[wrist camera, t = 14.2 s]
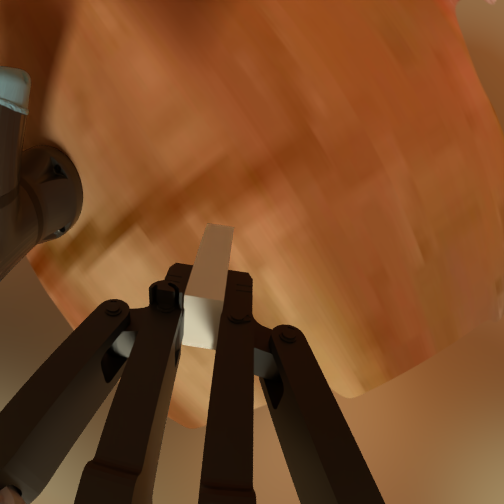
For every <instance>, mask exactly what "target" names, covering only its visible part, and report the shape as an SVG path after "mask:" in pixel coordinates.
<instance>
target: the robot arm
mask: <svg viewBox="0 0 504 504" xmlns="http://www.w3.org/2000/svg"><path fill="white" fill-rule="evenodd" d="M30 89H31V78H30V76H29V74H28V73H27V72H26V71H24V70H22V69H17V68H12V67H5V66H0V281H1V280H2V279H3V278H4V277H5V276H6V275H7V273H9V272H10V270H11V269H12V268H13V267H14V266H15V265H16V264H17V263H18V262H19V261H20V260H21V259H22V258H23V257H24V256H25V255H26V254H27V253H28V252H29V251H30V250H31V249H32V248H33V247H34V246H35V245H37V244H40V243H43V242H47V241H50V240H53V239H56V238H59V237H61V236H62V235H64V234H65V233H66V232H67V231H68V230H69V229H71V228H72V227H73V226H74V224H75V223H76V222H77V220H78V218H79V216H80V213H81V209H82V203H83V192H82V186H81V181H80V178H79V175H78V173H77V171H76V169H75V167H74V165H73V164H72V162H71V161H70V160H69V159H68V157H67V156H66V155H64V154H63V153H62V152H61V151H59V150H58V149H56V148H54V147H51V146H46V145H40V146H35V147H33V148H30V149H28V150H25V151H24V152H22V147H23V139H24V131H25V125H26V118H27V115H28V114H29V110H28V103H29V95H30ZM233 230H234V227H230V226H223V225H216V224H210V223H207V225H206V228H205V231H204V234H203V237H202V240H201V243H200V246H199V249H198V252H197V256H196V259H195V262H194V265H187V264H181V263H175V264H174V265H172V266H171V267H170V268H169V270H168V272H167V275H166V277H165V280H162V281H157V282H155V283H153V284H152V285H151V286H150V287H149V302H150V304H149V306H148V307H145V308H138V309H129V306H128V304H127V303H125V302H124V301H122V300H118V299H110V300H107V301H104V302H103V303H101V304H100V305H99V306H98V307H97V308H96V309H95V310H94V311H93V312H92V313H91V314H90V315H89V316H88V317H87V318H86V319H85V320H84V321H83V322H82V323H81V324H80V325H79V326H78V327H77V328H76V329H75V330H74V331H73V332H72V333H71V335H69V337H68V338H67V339H66V340H65V341H64V342H63V343H62V344H61V345H60V346H59V347H58V348H57V349H56V350H55V351H54V352H53V353H52V354H51V356H50V357H49V358H48V359H47V360H46V361H45V362H44V363H43V364H42V365H41V366H40V367H39V369H38V370H37V371H36V372H35V373H34V374H33V375H32V376H31V377H30V379H29V380H28V381H27V382H26V383H25V384H24V385H23V386H22V388H21V389H20V390H19V391H18V392H17V393H16V395H15V396H14V397H13V398H12V399H11V400H10V402H9V403H8V404H7V405H6V406H5V407H4V409H3V410H2V411H1V412H0V504H30V503H31V502H32V501H33V500H34V499H35V498H36V497H37V496H38V495H39V494H40V493H41V492H42V491H43V489H44V488H45V487H46V485H47V484H48V482H49V481H50V479H51V477H52V476H53V475H54V473H55V471H56V470H57V469H58V467H59V465H60V464H61V463H62V461H63V460H64V458H65V457H66V455H67V454H68V452H69V451H70V449H71V448H72V446H73V444H74V443H75V442H76V440H77V439H78V437H79V436H80V435H81V433H82V432H83V430H84V429H85V427H86V426H87V424H88V423H89V422H90V420H91V419H92V417H93V416H94V414H95V413H96V411H97V410H98V409H99V407H100V406H101V404H102V403H103V402H104V400H105V399H106V397H107V396H108V394H109V393H110V392H111V390H112V389H113V387H114V386H115V385H116V383H117V382H118V380H119V379H120V378H121V379H120V382H119V384H118V387H117V390H116V393H115V396H114V399H113V402H112V405H111V407H110V410H109V413H108V416H107V419H106V423H105V426H104V429H103V432H102V435H101V438H100V441H99V444H98V448H97V451H96V454H95V457H94V458H93V460H91V461H89V462H88V463H87V464H86V466H85V467H84V470H83V472H82V476H81V479H80V483H79V487H78V490H77V494H76V498H75V501H74V504H152V495H153V488H154V482H155V476H156V471H157V465H158V460H159V455H160V449H161V444H162V439H163V434H164V429H165V424H166V418H167V414H168V409H169V405H170V400H171V395H172V391H173V386H174V381H175V377H176V372H177V368H178V364H179V359H180V355H181V343H182V345H188V346H194V347H200V348H207V349H214V350H216V354H215V361H214V369H213V377H212V385H211V393H210V401H209V409H208V418H207V426H206V435H205V443H204V452H203V461H202V471H201V480H200V490H199V499H198V504H256V494H255V491H254V489H253V405H254V375H257V376H259V380H260V383H261V386H262V390H263V393H264V396H265V399H266V402H267V405H268V408H269V411H270V415H271V418H272V421H273V424H274V427H275V430H276V433H277V436H278V439H279V442H280V445H281V448H282V451H283V454H284V457H285V460H286V463H287V465H288V469H289V472H290V474H291V477H292V480H293V483H294V486H295V489H296V492H297V495H298V497H299V500H300V503H301V504H385V502H384V500H383V498H382V496H381V494H380V492H379V489H378V487H377V485H376V483H375V481H374V479H373V477H372V475H371V472H370V470H369V468H368V466H367V464H366V462H365V460H364V458H363V456H362V454H361V451H360V449H359V447H358V445H357V443H356V441H355V439H354V437H353V435H352V433H351V431H350V428H349V427H348V424H347V422H346V420H345V418H344V416H343V414H342V412H341V410H340V408H339V406H338V404H337V402H336V399H335V397H334V396H333V393H332V391H331V389H330V387H329V385H328V383H327V381H326V379H325V377H324V375H323V373H322V371H321V369H320V366H319V364H318V362H317V360H316V358H315V356H314V354H313V352H312V350H311V348H310V346H309V344H308V342H307V340H306V338H305V336H304V334H303V333H302V332H301V330H299V329H298V328H296V327H294V326H291V325H279V326H276V327H275V328H273V330H272V329H269V328H266V327H264V326H262V325H260V324H259V323H257V321H256V320H255V319H254V317H253V314H252V286H253V279H252V278H251V276H250V275H249V273H246V272H239V271H232V270H228V266H229V259H230V252H231V245H232V238H233ZM182 339H183V340H182Z"/></svg>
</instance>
